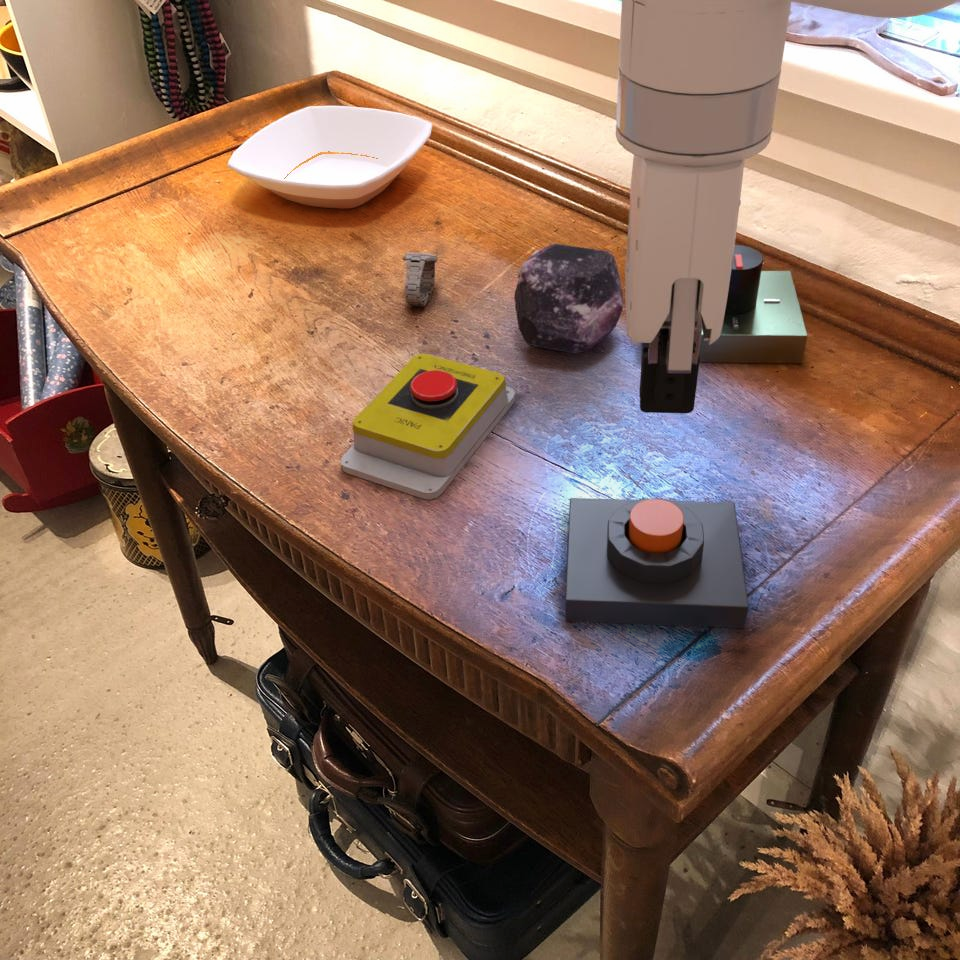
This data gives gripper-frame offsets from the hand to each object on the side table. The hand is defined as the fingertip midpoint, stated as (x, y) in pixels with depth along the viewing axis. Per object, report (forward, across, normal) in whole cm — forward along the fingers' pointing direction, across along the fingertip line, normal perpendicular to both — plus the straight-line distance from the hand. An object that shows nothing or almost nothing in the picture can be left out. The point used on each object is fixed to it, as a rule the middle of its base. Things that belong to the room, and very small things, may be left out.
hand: (665, 404), depth 59 cm
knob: (+12, -31, +8) cm, 34 cm away
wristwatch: (+15, -36, -22) cm, 45 cm away
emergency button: (+15, -15, -18) cm, 28 cm away
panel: (+15, -31, +7) cm, 35 cm away
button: (+11, 0, 0) cm, 11 cm away
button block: (+15, 0, 0) cm, 15 cm away
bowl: (+15, -62, -36) cm, 73 cm away
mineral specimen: (+15, -29, -7) cm, 33 cm away
